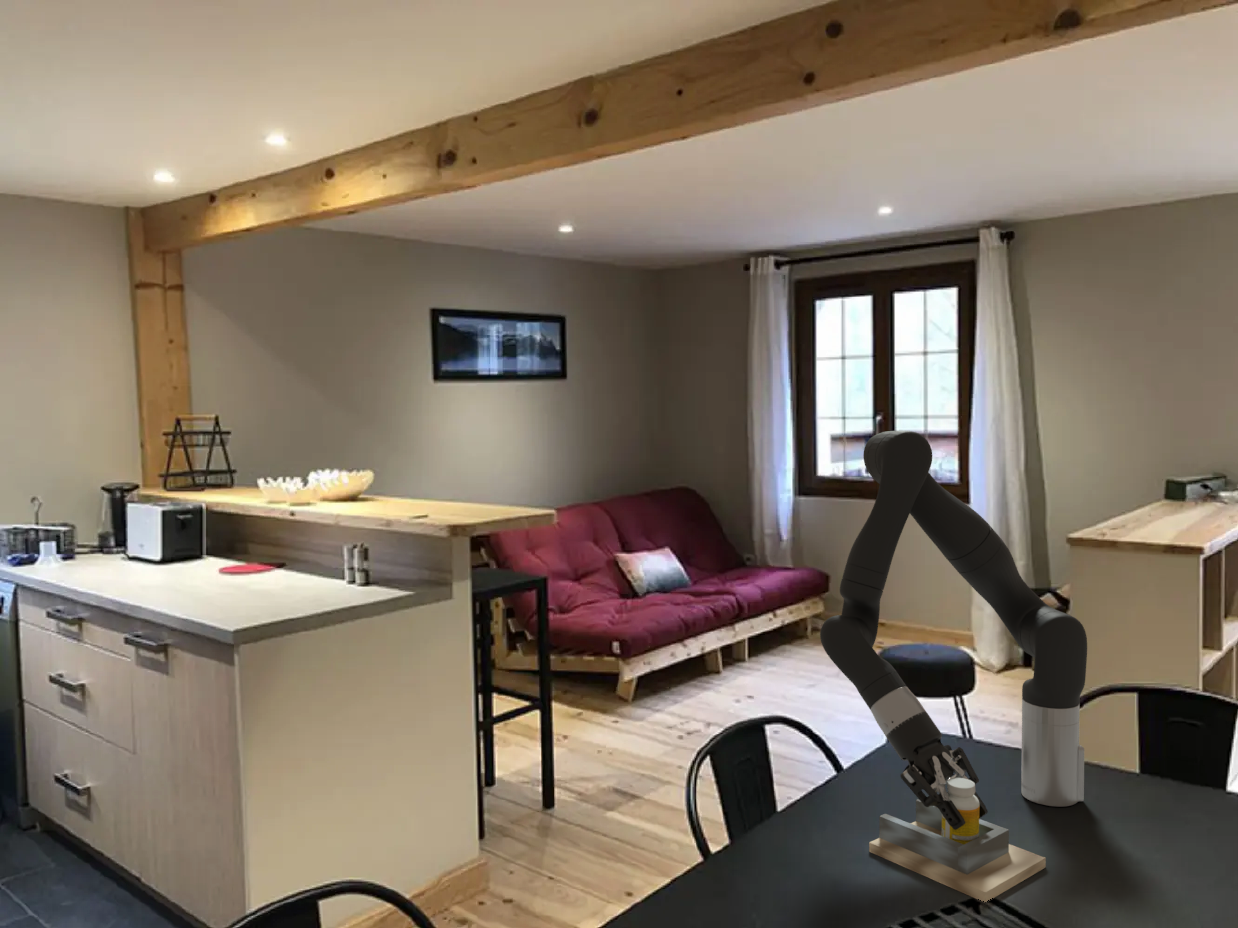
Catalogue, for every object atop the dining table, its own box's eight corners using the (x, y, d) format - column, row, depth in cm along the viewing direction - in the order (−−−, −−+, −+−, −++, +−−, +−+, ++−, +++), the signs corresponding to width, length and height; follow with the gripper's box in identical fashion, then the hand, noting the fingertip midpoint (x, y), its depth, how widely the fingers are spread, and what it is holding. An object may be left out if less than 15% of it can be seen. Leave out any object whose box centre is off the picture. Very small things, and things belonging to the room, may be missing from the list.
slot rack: (869, 851, 152) (869, 820, 152) (930, 823, 162) (930, 793, 162) (985, 902, 137) (985, 868, 136) (1045, 867, 146) (1045, 835, 146)
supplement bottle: (934, 840, 150) (934, 779, 149) (960, 833, 152) (960, 773, 151) (960, 855, 145) (961, 792, 144) (986, 847, 147) (987, 785, 147)
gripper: (891, 720, 149) (960, 823, 140) (946, 701, 157) (1014, 797, 149) (862, 745, 153) (928, 846, 145) (918, 725, 162) (982, 819, 153)
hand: (971, 820), depth 147 cm, fingers closed on supplement bottle, 5 cm apart
